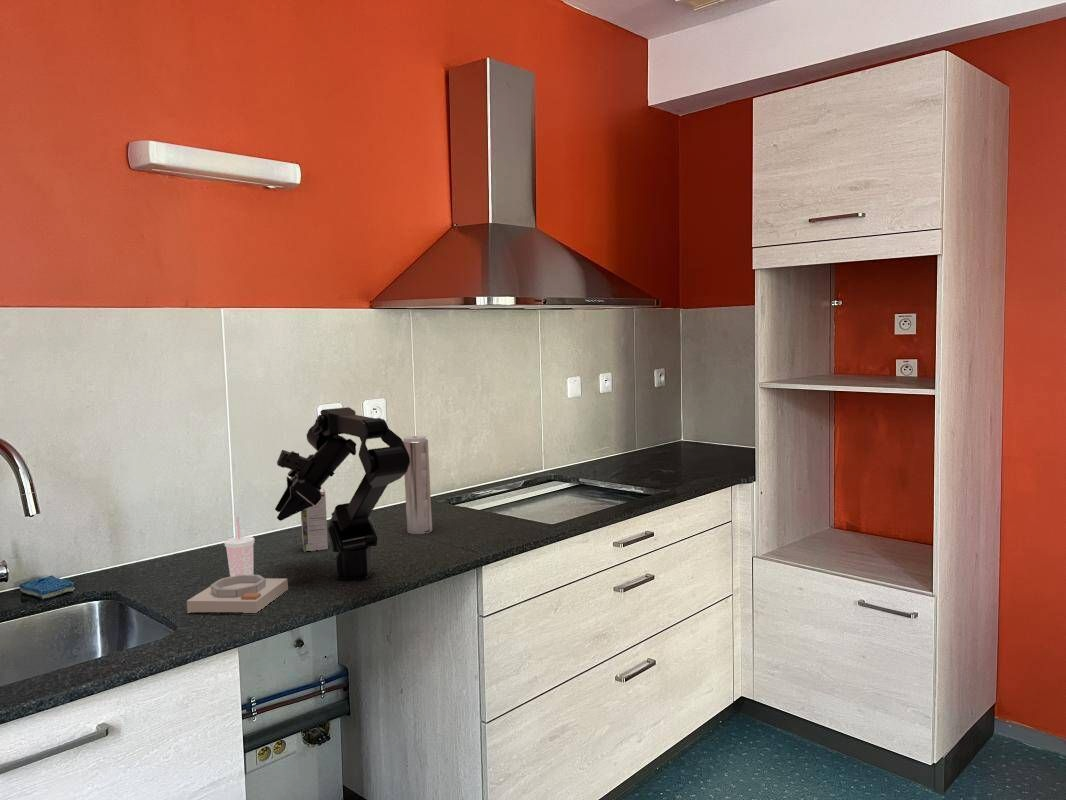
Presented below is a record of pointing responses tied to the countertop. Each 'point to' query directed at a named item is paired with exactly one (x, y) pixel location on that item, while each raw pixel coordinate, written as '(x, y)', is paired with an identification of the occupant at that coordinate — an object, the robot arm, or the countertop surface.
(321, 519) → the syrup box
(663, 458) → the countertop surface
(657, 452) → the countertop surface
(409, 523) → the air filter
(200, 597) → the base
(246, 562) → the beverage cup
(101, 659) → the countertop surface
